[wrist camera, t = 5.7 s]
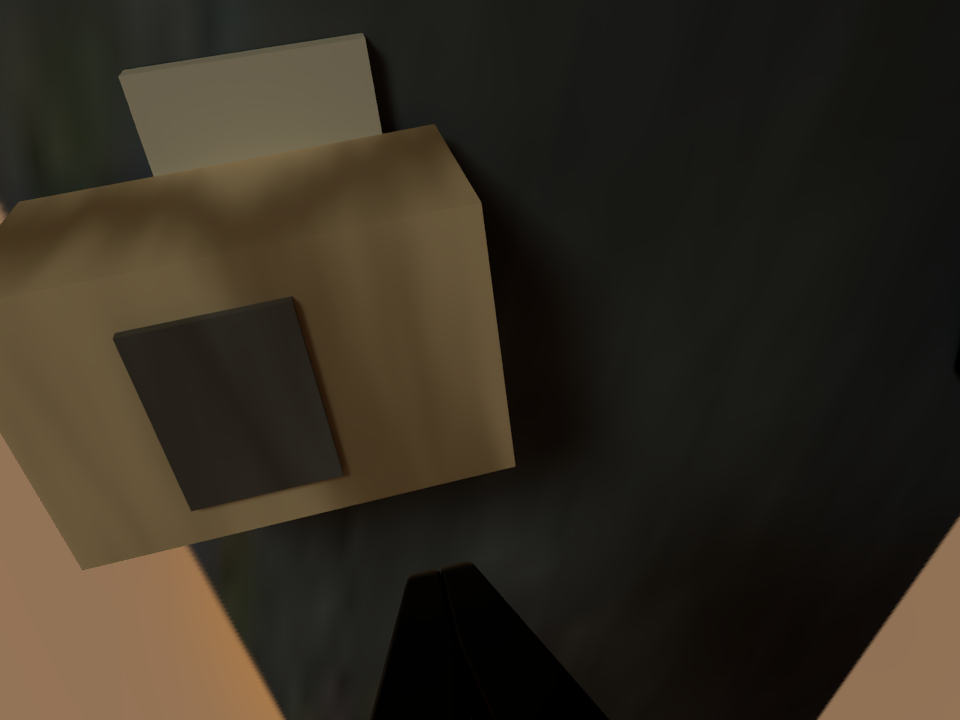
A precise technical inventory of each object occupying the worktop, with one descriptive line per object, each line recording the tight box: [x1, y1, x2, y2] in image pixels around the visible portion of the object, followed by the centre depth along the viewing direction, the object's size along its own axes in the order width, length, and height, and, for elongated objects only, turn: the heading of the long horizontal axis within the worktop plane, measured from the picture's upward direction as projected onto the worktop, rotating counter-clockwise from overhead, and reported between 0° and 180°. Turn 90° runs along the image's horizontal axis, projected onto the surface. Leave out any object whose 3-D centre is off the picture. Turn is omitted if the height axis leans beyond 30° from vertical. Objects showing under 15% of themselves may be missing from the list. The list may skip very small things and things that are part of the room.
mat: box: [119, 33, 382, 177], centre depth 19 cm, size 5×10×1 cm, turn 7°
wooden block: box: [0, 124, 515, 570], centre depth 16 cm, size 5×6×9 cm
